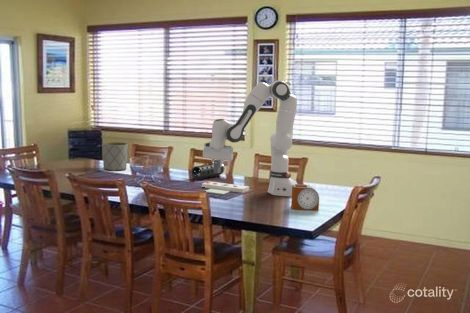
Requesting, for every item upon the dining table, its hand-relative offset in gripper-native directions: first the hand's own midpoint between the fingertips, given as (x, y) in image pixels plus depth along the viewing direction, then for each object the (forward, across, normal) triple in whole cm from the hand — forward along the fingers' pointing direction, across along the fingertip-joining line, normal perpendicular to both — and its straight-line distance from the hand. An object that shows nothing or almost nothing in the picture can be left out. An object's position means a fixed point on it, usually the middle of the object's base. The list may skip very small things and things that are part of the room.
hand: (217, 166), depth 338 cm
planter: (+18, +102, -29) cm, 108 cm away
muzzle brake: (+17, +28, -41) cm, 52 cm away
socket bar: (+16, 0, -12) cm, 21 cm away
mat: (+17, 0, 0) cm, 17 cm away
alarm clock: (+16, -62, +11) cm, 65 cm away
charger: (+4, 0, 0) cm, 4 cm away
